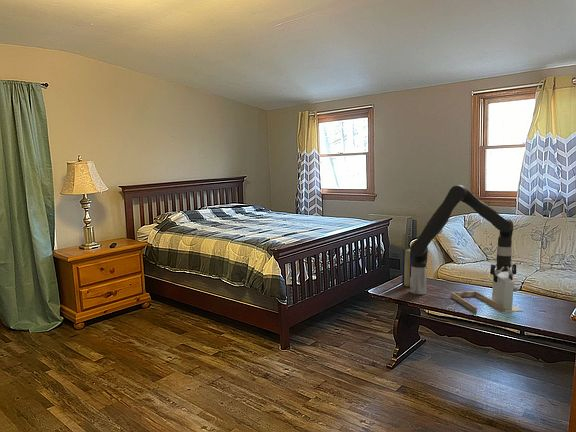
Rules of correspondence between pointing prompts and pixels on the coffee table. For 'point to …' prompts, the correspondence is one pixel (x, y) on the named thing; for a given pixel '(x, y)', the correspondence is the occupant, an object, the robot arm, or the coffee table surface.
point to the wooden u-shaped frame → (458, 296)
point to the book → (406, 267)
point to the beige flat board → (511, 309)
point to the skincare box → (503, 291)
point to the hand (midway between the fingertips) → (502, 281)
